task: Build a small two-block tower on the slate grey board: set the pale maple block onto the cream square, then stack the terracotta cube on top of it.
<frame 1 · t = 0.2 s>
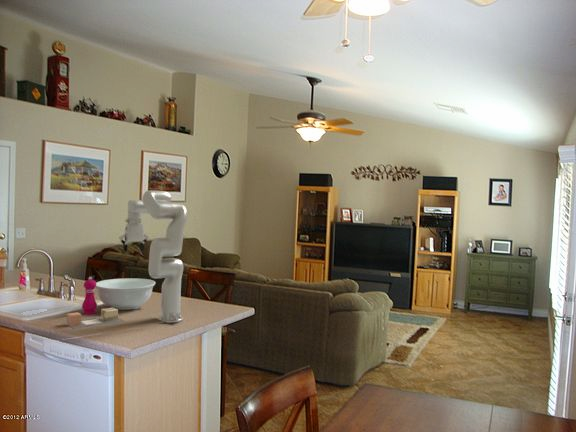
hand: (133, 251, 279), 31 cm above the counter, tool pointing down, fingers open, 9 cm apart
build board: (94, 323, 235), on the counter
terracotta cube: (74, 324, 229), point 1 cm above the counter, touching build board
pepper mill: (89, 315, 252), on the counter
maple block: (109, 319, 240), point 1 cm above the counter, touching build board
bowl: (125, 308, 269), on the counter
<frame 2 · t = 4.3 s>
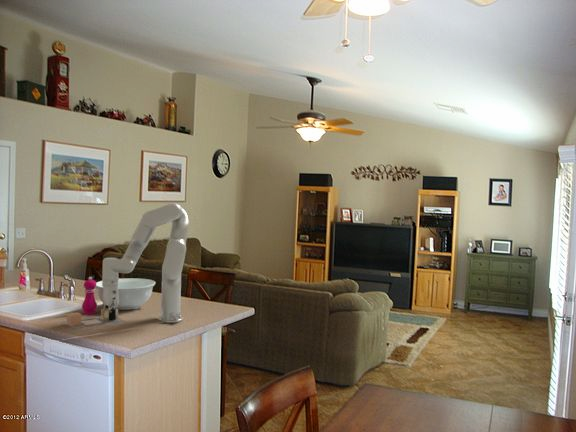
hand: (109, 318, 240), 2 cm above the counter, tool pointing down, fingers closed on maple block, 6 cm apart
maple block: (109, 319, 240), point 1 cm above the counter, touching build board, gripper
everything else where it was.
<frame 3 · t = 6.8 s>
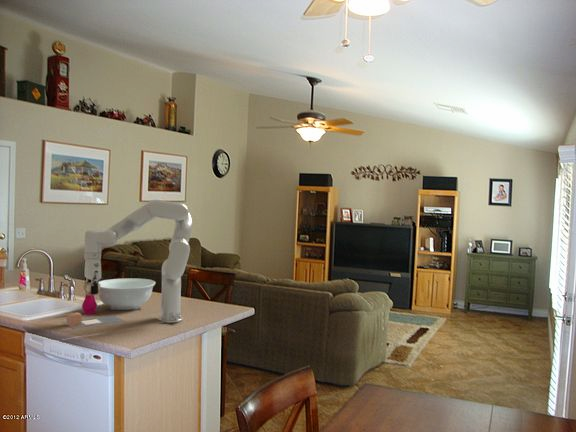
hand: (91, 292, 234), 15 cm above the counter, tool pointing down, fingers closed on maple block, 6 cm apart
maple block: (91, 293, 234), point 15 cm above the counter, touching gripper
everything else where it was.
when the fingers open (3 cm above the counter, at t = 9.4 s): maple block drops 2 cm, resting on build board.
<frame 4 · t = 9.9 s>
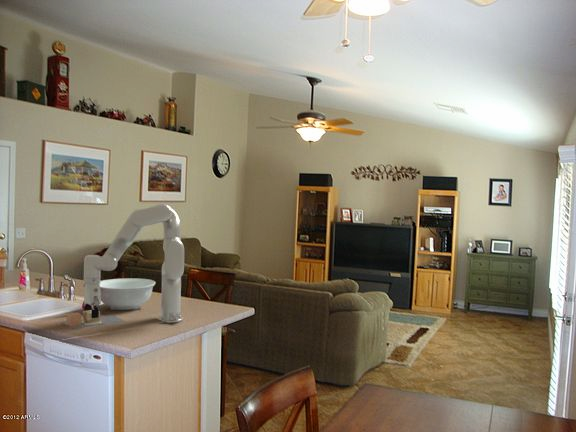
hand: (91, 315, 234), 4 cm above the counter, tool pointing down, fingers open, 9 cm apart
maple block: (91, 321, 234), point 1 cm above the counter, touching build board
everything else where it was.
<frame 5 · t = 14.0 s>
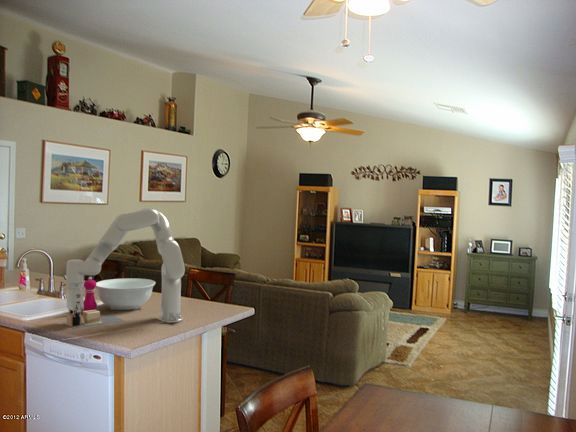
hand: (74, 323, 229), 1 cm above the counter, tool pointing down, fingers closed on terracotta cube, 4 cm apart
terracotta cube: (74, 324, 229), point 1 cm above the counter, touching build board, gripper
everything else where it was.
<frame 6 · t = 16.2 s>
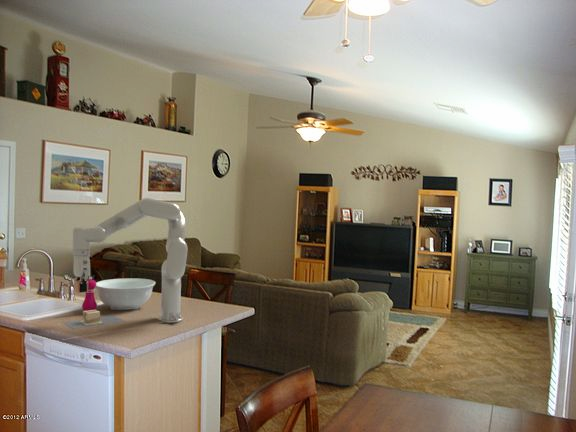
hand: (81, 290, 230), 17 cm above the counter, tool pointing down, fingers closed on terracotta cube, 4 cm apart
terracotta cube: (80, 291, 230), point 16 cm above the counter, touching gripper
everything else where it was.
when the fingers open (8 cm above the counter, at t = 18.7 s): terracotta cube drops 1 cm, resting on maple block.
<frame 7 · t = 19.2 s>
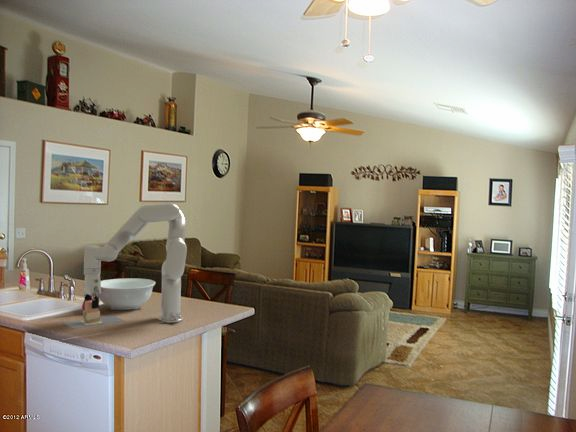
hand: (91, 306, 234), 9 cm above the counter, tool pointing down, fingers open, 9 cm apart
terracotta cube: (91, 311, 234), point 6 cm above the counter, touching maple block
maple block: (91, 321, 234), point 1 cm above the counter, touching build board, terracotta cube
everything else where it was.
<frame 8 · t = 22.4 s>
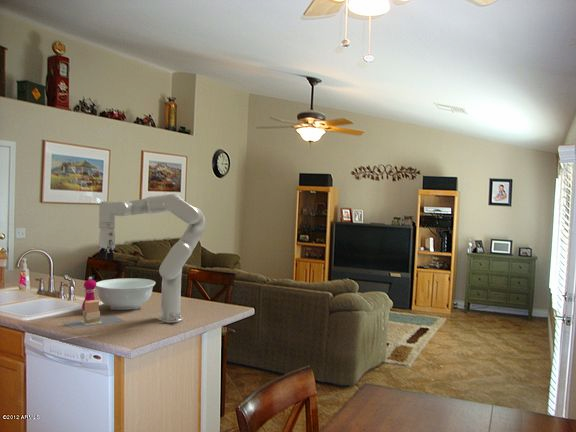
hand: (106, 259, 244), 30 cm above the counter, tool pointing down, fingers open, 9 cm apart
nothing on the counter moved.
at the end: maple block 0.1 cm from the target spot on the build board, point 1.1 cm above the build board's base; terracotta cube 0.1 cm off-centre on the maple block, point 5.0 cm above the maple block's base; terracotta cube tilted 0° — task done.
